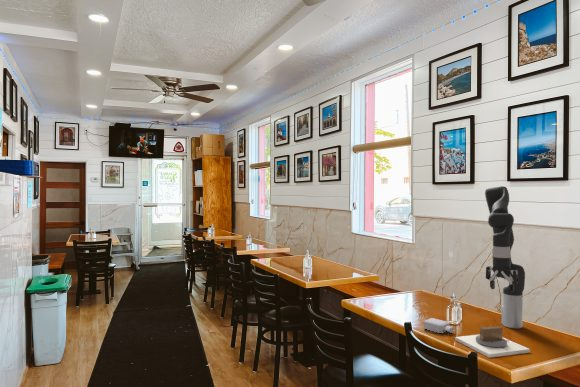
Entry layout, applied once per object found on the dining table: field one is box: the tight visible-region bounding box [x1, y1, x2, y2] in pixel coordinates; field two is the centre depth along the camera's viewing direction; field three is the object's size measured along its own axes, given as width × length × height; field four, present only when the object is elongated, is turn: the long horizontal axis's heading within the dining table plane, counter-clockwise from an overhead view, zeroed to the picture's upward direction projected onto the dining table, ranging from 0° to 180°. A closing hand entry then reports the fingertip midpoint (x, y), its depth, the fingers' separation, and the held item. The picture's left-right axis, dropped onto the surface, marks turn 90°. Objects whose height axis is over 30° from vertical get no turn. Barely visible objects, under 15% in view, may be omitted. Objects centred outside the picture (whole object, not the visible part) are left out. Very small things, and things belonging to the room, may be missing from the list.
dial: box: [476, 325, 507, 348], centre depth 192 cm, size 13×13×7 cm
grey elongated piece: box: [423, 317, 457, 334], centre depth 213 cm, size 5×9×15 cm
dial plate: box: [454, 333, 531, 359], centre depth 192 cm, size 22×22×2 cm
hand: (502, 290), depth 194 cm, fingers open, 8 cm apart
